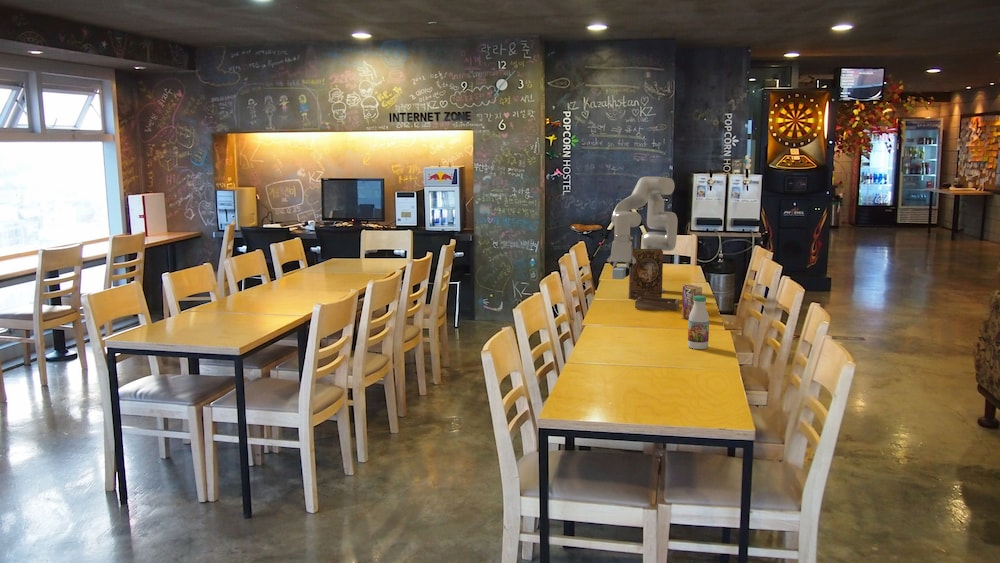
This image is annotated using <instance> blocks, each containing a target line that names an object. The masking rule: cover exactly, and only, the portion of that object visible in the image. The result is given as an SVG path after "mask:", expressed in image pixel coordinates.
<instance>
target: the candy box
mask: <svg viewBox="0 0 1000 563" xmlns="http://www.w3.org/2000/svg"><path fill="white" fill-rule="evenodd" d="M694 296H703V287H702V286H698V285H693V284H689V283H688V284H683V285H682V297H681V319H683V318H684V319H683V320H687V319H688V321H689V315H690V312H691V310H692V308H693V306H694V302H693V301H694Z"/></svg>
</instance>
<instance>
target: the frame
mask: <svg viewBox="0 0 1000 563" xmlns="http://www.w3.org/2000/svg"><path fill="white" fill-rule="evenodd" d="M634 304H635V305H634V309H635V308H637V309H636V310H650V309H653V310H652V311H667V310H670V312H672V311H673V312H677V311H678V310H679V309H678V308H679V307H680V298H673V297H672V298H670V297H669V298H668V297H662V298H653V297H638V298H637V299H635V301H634Z"/></svg>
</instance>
